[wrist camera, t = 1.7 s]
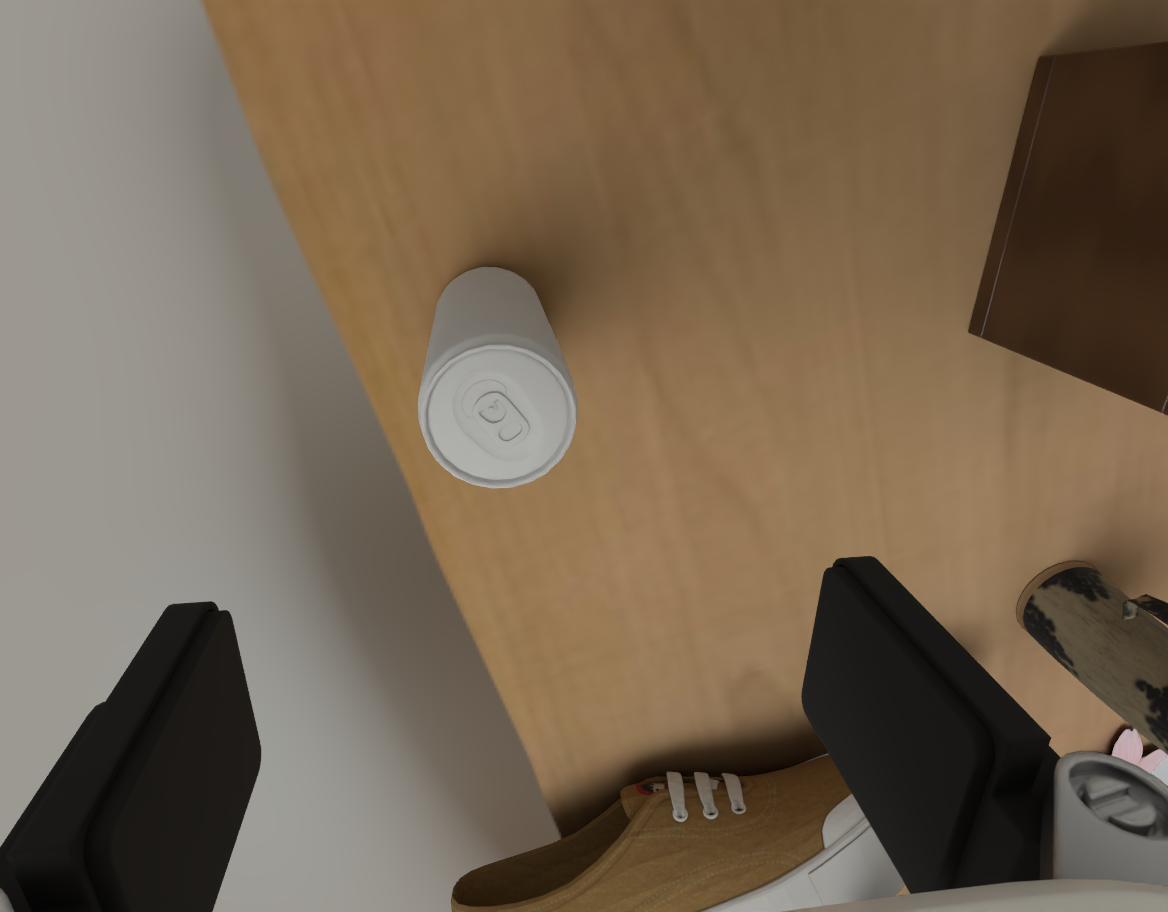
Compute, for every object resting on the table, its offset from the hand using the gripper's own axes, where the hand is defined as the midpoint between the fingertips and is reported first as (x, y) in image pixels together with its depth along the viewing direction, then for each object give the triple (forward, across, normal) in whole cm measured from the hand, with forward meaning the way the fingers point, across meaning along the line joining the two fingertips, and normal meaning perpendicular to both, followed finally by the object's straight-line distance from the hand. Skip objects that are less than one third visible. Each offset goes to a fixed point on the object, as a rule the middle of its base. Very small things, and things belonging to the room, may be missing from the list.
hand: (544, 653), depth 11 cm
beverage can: (+23, 0, 0) cm, 23 cm away
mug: (+23, -34, +17) cm, 44 cm away
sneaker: (+16, -12, +36) cm, 41 cm away
